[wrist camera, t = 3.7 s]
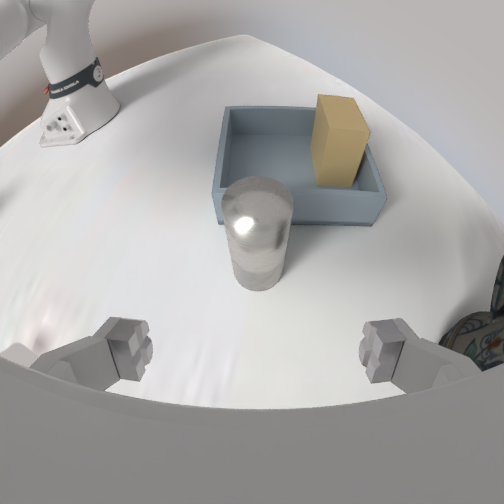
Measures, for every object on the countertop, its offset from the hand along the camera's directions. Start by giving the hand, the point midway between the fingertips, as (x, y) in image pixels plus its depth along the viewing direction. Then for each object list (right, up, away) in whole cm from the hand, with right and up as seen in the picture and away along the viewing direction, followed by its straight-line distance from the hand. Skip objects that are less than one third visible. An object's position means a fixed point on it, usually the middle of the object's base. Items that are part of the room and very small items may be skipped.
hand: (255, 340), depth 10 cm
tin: (+1, +1, +22) cm, 22 cm away
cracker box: (+11, +16, +29) cm, 35 cm away
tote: (+6, +15, +29) cm, 33 cm away
